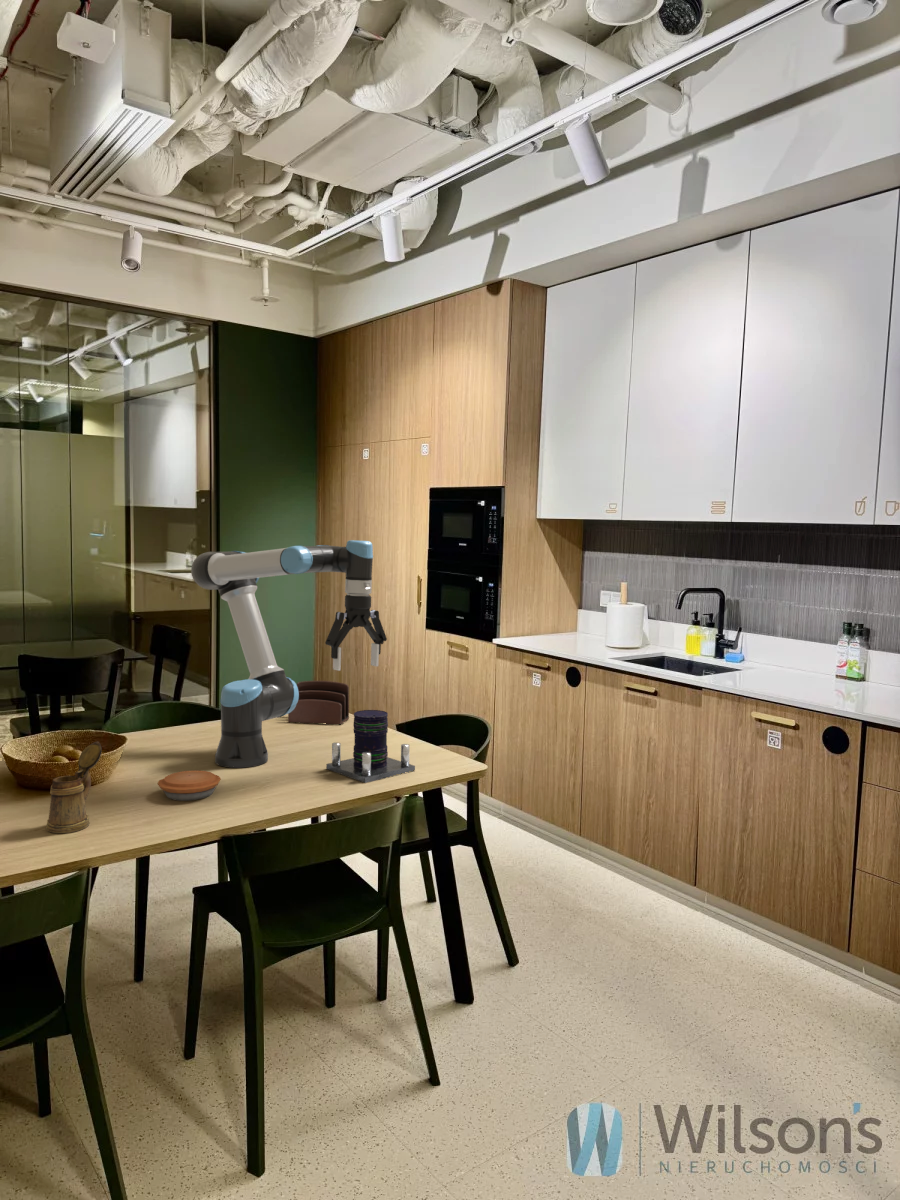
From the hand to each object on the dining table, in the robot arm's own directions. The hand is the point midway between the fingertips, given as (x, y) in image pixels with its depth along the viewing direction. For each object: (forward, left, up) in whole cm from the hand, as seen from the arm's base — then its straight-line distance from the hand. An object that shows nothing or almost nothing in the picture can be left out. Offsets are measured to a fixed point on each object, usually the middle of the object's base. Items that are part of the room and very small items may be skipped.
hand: (355, 667), depth 245 cm
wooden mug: (-78, +3, -29) cm, 83 cm away
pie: (-48, +7, -29) cm, 57 cm away
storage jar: (+1, -6, -28) cm, 28 cm away
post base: (+1, -6, -29) cm, 30 cm away
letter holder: (+27, +56, -29) cm, 69 cm away
